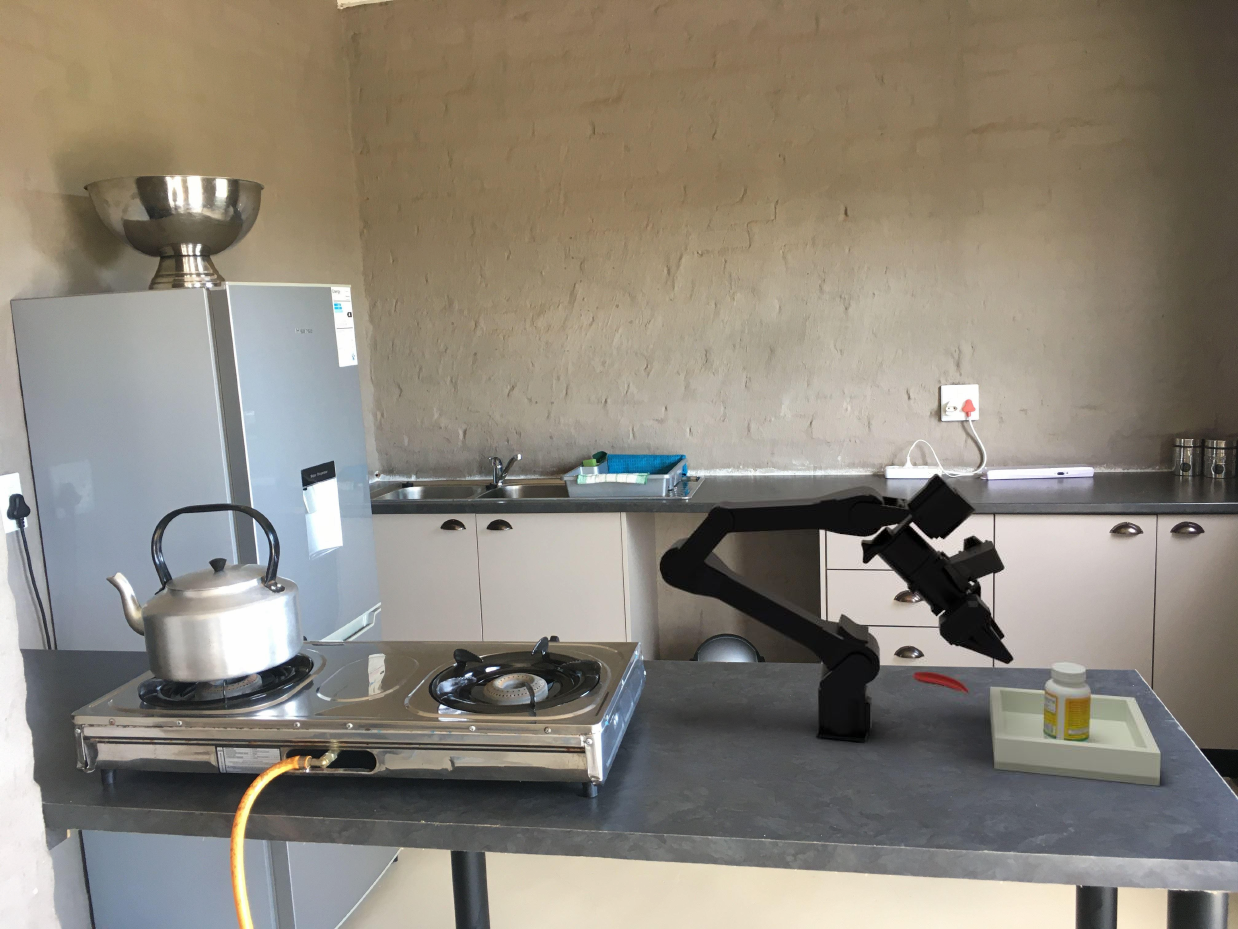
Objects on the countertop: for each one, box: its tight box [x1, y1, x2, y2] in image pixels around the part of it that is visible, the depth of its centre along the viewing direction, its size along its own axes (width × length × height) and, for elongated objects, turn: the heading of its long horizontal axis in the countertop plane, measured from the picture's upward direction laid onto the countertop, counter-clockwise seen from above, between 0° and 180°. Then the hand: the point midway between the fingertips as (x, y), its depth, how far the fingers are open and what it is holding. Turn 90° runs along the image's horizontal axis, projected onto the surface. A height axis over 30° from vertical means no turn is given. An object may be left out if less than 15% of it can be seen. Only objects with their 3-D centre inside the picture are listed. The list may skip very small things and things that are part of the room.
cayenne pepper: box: [912, 670, 970, 694], centre depth 150 cm, size 12×5×2 cm, turn 19°
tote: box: [989, 685, 1162, 787], centre depth 126 cm, size 18×18×4 cm
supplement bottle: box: [1043, 661, 1092, 742], centre depth 125 cm, size 5×5×10 cm
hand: (1006, 649), depth 126 cm, fingers open, 9 cm apart
